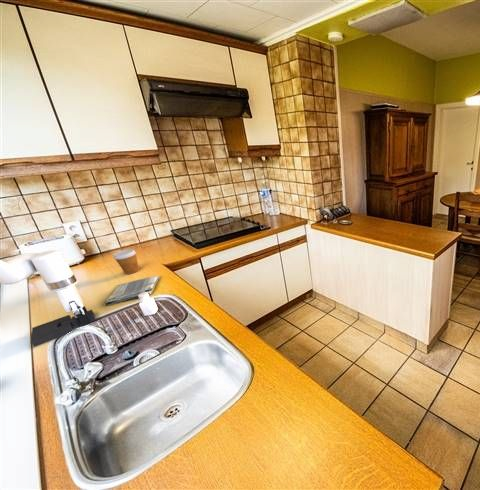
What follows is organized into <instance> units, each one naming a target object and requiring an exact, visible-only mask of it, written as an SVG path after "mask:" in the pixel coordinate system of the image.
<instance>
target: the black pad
mask: <svg viewBox="0 0 480 490" xmlns="http://www.w3.org/2000/svg"><path fill="white" fill-rule="evenodd" d="M84 313H86V314H87V316H88V317H89V319H90V322H89V323H92V322H94V321H96V320H97V319H96V316H95V315H96V314H95V313H94V311H93V309H89V310H87V312H84ZM68 323H70V324H71V325H72V327H73V328H79V327H81V326H80V325H79V324H78V322H77V321H76V319H75V316H74V315H73V316H71V319H69V320H66V321H63V322H61V326H63V325H66V324H68ZM84 325H85V324H83V325H82V326H84Z"/></svg>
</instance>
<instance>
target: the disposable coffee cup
mask: <svg viewBox="0 0 480 490" xmlns="http://www.w3.org/2000/svg"><path fill="white" fill-rule="evenodd" d="M136 254H137V253H136V250H135V249H132V248H126V249H122V250H119V251H117V252H116V251H115V252H114V254H113V256H112V258H113V259H114V260H115V261H116V262H117V264H118V266H119V267H120V268H121V269H122V271H123V272H124V274H125V275H132V274H137V272H140V265H139V262H138V258H137V255H136Z"/></svg>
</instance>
